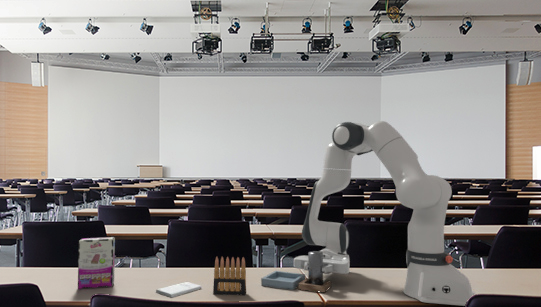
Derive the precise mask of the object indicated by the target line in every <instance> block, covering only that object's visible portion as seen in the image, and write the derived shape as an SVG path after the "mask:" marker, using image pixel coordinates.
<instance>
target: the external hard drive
mask: <svg viewBox="0 0 541 307" xmlns="http://www.w3.org/2000/svg"><path fill="white" fill-rule="evenodd" d="M197 290H202V285H200V284H196V283H193V282H189V281H185V282H181V283H177V284H173V285H169V286H165V287H161V288H157V289H156V290H155V293H156V294H160V295H162V296H165V297H168V298H175V297H178V296H181V295H185V294H189V293H191V292H196V291H197Z"/></svg>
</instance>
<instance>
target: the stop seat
mask: <svg viewBox="0 0 541 307" xmlns="http://www.w3.org/2000/svg"><path fill="white" fill-rule="evenodd" d="M331 284H332V282H331V281H330V280H327V281H326V282H323V285H322V286H321V285H313V284H308V277H307V278H306V277H305V280H303V281H302V282H300V283H299V286H298V290H299V289H301V290H300V291H305V290H310V291H309V292H312V291H315V292H314V293H319V292H318V291H320V292H325V291H326V290H327V289H328V288H329V287H330V286H331V287H332V285H331ZM331 287H330V288H331ZM330 288H329V289H330ZM329 289H328V290H329ZM328 290H327V291H328ZM327 291H326V292H327ZM326 292H325V293H326Z"/></svg>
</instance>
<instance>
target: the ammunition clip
mask: <svg viewBox="0 0 541 307" xmlns="http://www.w3.org/2000/svg"><path fill="white" fill-rule="evenodd" d="M225 260H226V261H224V257H223V256H221V258H220V264H219V258H218V256H216V257H215V261H214V270H213V275H214V276H213V286H212V287H213V288H212V289H213V290H212V295H215V296H217V295H219V296H220V295H221V296H246V295H247V274H246V273H247V272H246V259H245V257H244V256H243V257H242V259H241V261H240V257H238V256H237V258H236V263H235V258H234V256H232V257H231V261H230V258H229V256H227V257H226V259H225Z"/></svg>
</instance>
